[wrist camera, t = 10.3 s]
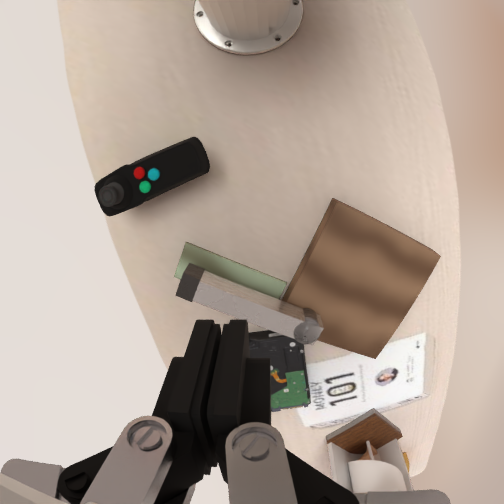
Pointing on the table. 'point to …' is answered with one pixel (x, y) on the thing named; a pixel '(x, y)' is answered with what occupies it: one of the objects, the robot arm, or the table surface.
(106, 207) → the controller
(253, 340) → the disk drive
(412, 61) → the table surface
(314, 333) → the folding leg
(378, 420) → the gray dispenser tower
